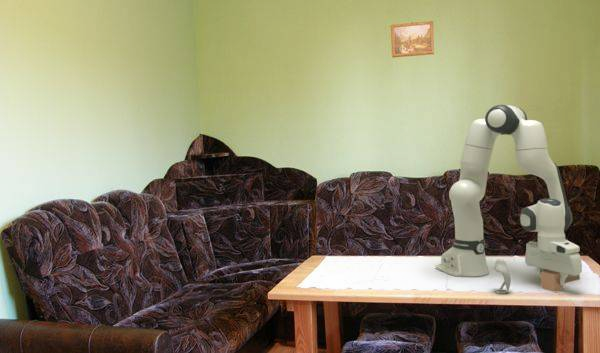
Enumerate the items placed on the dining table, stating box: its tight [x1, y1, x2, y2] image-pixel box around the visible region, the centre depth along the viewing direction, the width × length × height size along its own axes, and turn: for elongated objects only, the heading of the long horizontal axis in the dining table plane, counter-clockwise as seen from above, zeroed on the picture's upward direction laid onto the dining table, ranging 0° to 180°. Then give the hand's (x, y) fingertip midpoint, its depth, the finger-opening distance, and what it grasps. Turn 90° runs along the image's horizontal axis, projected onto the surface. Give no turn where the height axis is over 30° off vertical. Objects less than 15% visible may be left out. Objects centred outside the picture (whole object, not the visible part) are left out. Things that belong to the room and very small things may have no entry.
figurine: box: [493, 258, 512, 294], centre depth 172 cm, size 8×5×12 cm
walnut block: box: [543, 269, 581, 284], centre depth 185 cm, size 9×10×5 cm
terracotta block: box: [540, 270, 564, 292], centre depth 174 cm, size 5×5×6 cm
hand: (552, 282), depth 174 cm, fingers open, 5 cm apart
